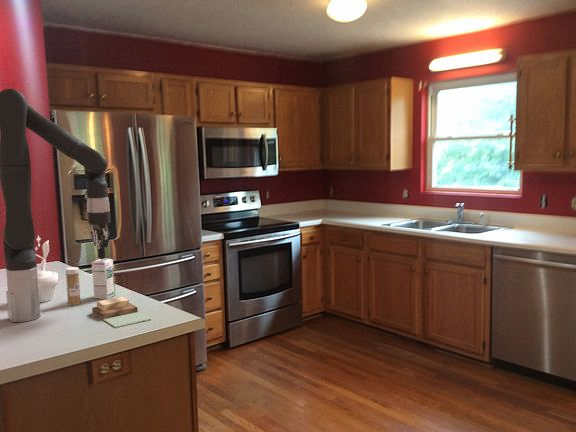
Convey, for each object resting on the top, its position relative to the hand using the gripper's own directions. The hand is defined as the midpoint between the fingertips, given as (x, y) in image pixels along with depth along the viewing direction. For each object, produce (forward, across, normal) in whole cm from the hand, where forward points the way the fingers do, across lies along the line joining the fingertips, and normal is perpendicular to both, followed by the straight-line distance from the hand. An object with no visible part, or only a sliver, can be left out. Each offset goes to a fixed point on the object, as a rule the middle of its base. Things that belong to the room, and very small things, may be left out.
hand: (101, 258), depth 188 cm
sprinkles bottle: (+18, -11, -7) cm, 22 cm away
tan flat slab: (+18, +10, 0) cm, 20 cm away
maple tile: (+16, +8, 0) cm, 18 cm away
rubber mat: (+18, +20, 0) cm, 27 cm away
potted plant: (+18, -24, -15) cm, 33 cm away
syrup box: (+18, -13, +5) cm, 23 cm away
